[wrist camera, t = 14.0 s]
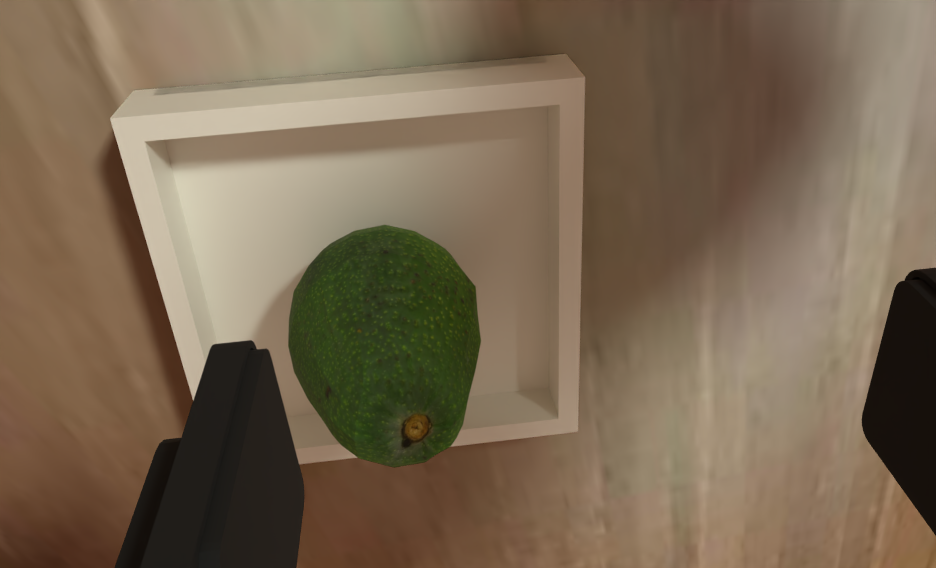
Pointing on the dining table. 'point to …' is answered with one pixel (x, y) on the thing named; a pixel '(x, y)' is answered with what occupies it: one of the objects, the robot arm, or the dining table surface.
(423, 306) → the avocado
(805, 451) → the dining table surface
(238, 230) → the tray
